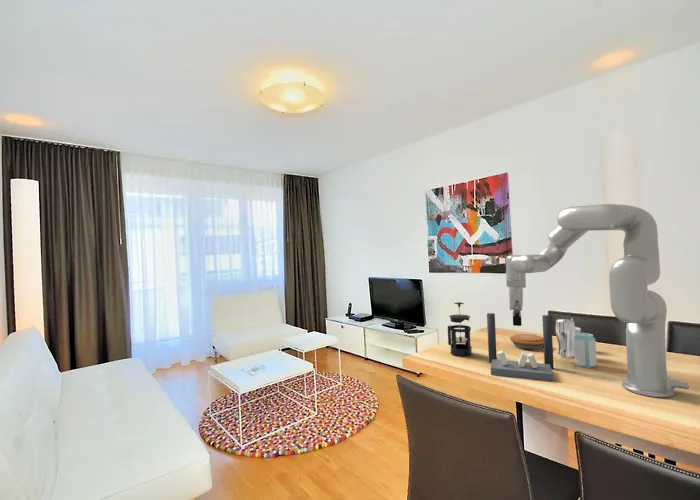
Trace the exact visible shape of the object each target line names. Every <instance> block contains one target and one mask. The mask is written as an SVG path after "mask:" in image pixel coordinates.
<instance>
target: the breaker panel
mask: <svg viewBox="0 0 700 500" xmlns="http://www.w3.org/2000/svg"><path fill="white" fill-rule="evenodd" d="M507 361H508V364H507V365H502V363H501V361H500V359H498V358H497V359H492V363H490V364H491V365H490V375H491V376H492V375H493V376H501V377H509V378H518V379H519V378H520V379H529V380H538V381H539V380H540V381H546V382H548V381H549V382H554V373H553V371H552V370H553V369H551V366H550V364H545V363H541V362H540V363H539V362H537V365H538V367H537V368H532V366H531V363H530V361H526V362H525V365H524V368H523V367H521V366H519V365H518V361H519V360H518V361H517V360H508V359H507Z"/></svg>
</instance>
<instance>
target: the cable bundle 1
mask: <svg viewBox="0 0 700 500" xmlns="http://www.w3.org/2000/svg"><path fill="white" fill-rule="evenodd" d="M486 321H487V322H486V324H487V325H486V326H487V349H488V363H489V364H491V363H492V359H497V360H498V357H497V356H498V353H497V338H496V334H497V333H496V314H495V313H492V312H488V313H486Z"/></svg>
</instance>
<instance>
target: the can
mask: <svg viewBox="0 0 700 500" xmlns="http://www.w3.org/2000/svg"><path fill="white" fill-rule="evenodd" d="M596 342H597V341H596V338H595V337H594V334H592V333H590V332H589V333H587V332H580V333H576V334H575V336H574V363H575V364H576V365H577V366H579V367H583V368H588V369H589V368H590V369H591V368H594V367H596V366H598V365H597V364H598V363H597V343H596Z"/></svg>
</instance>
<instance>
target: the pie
mask: <svg viewBox="0 0 700 500" xmlns="http://www.w3.org/2000/svg"><path fill="white" fill-rule="evenodd" d="M509 340H510V341H511V342H512V344H513V345H514V347H516V349H517V348H518V349H521V350H528V351H537V350H541V349H543V348H544V341H543V337H542V336H540V335H536V334H530V333H518V334H514V335H512V336H510V337H509Z"/></svg>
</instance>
